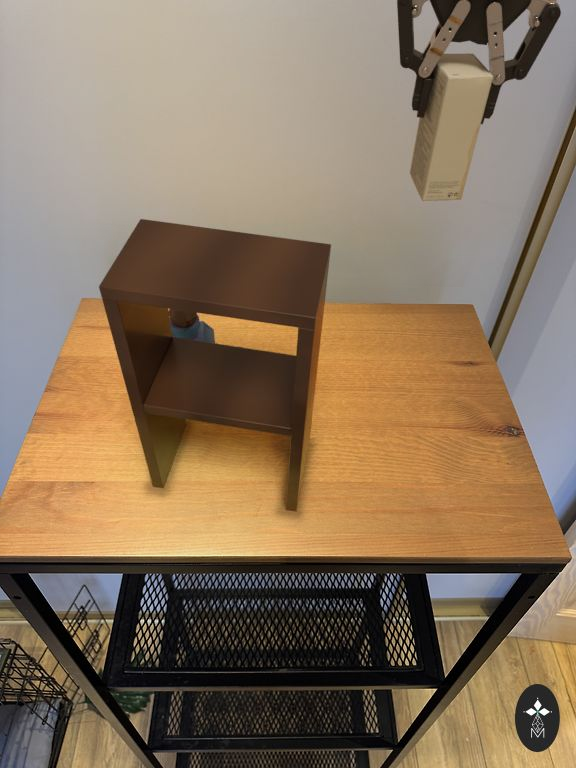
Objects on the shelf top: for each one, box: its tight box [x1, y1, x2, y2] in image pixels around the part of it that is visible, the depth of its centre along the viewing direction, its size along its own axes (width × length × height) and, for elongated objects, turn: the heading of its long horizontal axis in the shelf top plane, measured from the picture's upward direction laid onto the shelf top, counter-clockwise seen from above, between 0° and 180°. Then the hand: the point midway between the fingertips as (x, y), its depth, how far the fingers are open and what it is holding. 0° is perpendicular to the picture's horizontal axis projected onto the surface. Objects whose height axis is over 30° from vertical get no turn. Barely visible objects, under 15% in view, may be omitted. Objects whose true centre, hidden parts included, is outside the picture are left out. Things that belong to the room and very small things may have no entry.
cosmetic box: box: [409, 53, 493, 202], centre depth 57 cm, size 6×4×12 cm
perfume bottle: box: [168, 308, 216, 343], centre depth 68 cm, size 6×6×12 cm
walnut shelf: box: [98, 218, 332, 513], centre depth 54 cm, size 16×9×28 cm, turn 80°
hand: (449, 116), depth 56 cm, fingers closed on cosmetic box, 5 cm apart
